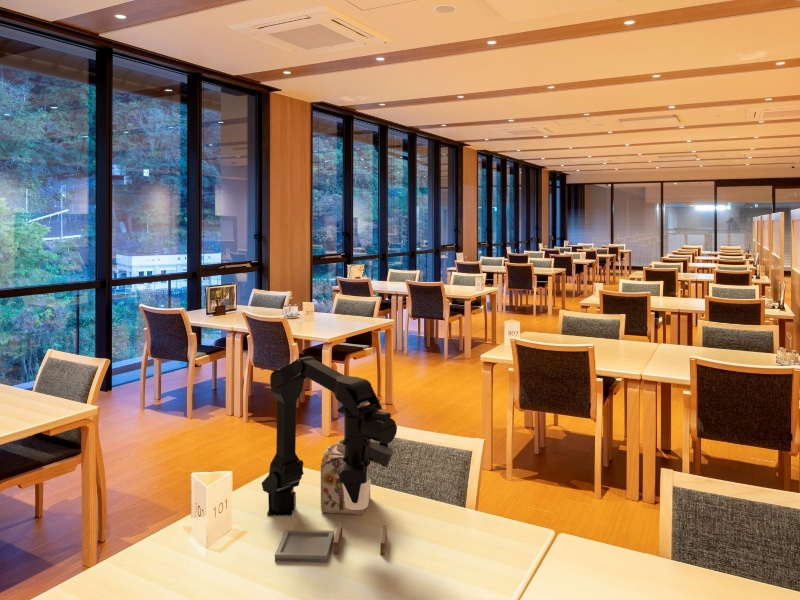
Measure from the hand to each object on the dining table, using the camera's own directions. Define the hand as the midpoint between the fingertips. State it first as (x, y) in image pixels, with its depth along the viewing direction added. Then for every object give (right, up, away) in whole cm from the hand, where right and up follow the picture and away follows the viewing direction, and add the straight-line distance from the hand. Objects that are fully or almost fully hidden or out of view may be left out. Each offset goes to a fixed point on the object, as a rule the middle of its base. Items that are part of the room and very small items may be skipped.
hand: (356, 496), depth 155 cm
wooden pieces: (+1, -12, +1) cm, 12 cm away
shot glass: (0, -2, 0) cm, 2 cm away
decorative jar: (-4, -10, +24) cm, 26 cm away
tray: (-12, -12, 0) cm, 17 cm away
